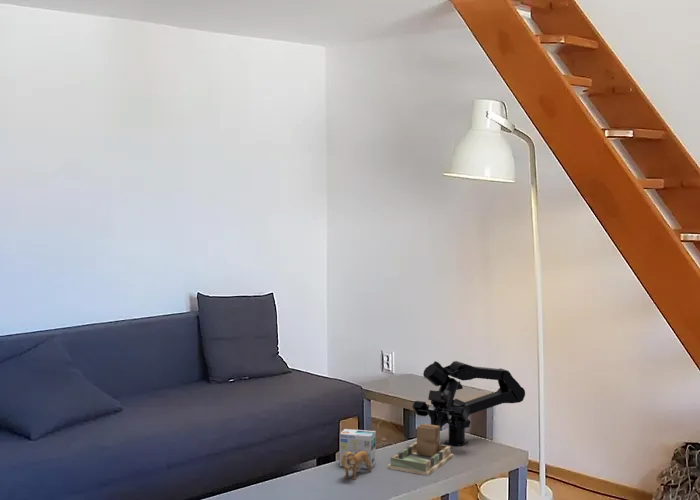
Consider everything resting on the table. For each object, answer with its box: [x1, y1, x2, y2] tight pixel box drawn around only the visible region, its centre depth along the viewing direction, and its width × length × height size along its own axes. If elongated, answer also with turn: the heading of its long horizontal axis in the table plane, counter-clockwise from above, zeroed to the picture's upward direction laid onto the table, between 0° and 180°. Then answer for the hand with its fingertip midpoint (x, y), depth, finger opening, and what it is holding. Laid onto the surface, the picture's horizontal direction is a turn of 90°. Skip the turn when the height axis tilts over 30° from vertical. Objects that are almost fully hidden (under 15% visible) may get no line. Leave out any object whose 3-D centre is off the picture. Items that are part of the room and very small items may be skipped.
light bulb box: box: [338, 428, 377, 470], centre depth 267 cm, size 11×7×11 cm, turn 76°
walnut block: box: [416, 423, 441, 457], centre depth 276 cm, size 5×6×9 cm
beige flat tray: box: [387, 440, 454, 477], centre depth 271 cm, size 21×14×4 cm, turn 151°
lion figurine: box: [341, 451, 372, 480], centre depth 258 cm, size 15×5×9 cm, turn 152°
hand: (432, 433), depth 280 cm, fingers closed
